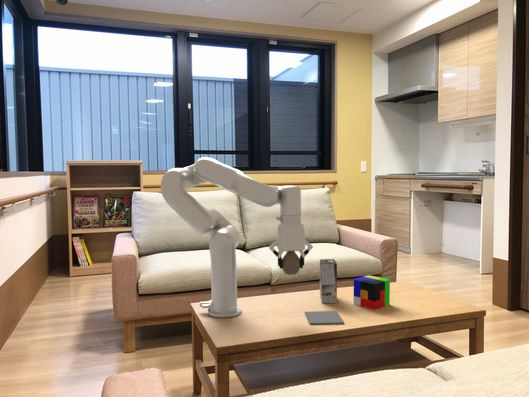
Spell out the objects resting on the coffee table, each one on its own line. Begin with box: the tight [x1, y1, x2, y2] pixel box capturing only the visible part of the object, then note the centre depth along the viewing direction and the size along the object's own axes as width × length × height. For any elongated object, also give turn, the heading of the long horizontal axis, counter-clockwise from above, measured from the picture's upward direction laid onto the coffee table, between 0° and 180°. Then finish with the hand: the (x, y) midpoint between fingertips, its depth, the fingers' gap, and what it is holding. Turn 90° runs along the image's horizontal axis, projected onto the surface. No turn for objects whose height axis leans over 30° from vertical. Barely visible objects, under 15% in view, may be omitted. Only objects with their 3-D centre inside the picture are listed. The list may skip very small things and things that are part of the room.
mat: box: [304, 310, 345, 326], centre depth 151 cm, size 12×12×1 cm
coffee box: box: [319, 258, 338, 304], centre depth 173 cm, size 9×6×16 cm
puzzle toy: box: [353, 275, 391, 311], centre depth 167 cm, size 10×10×10 cm
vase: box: [281, 251, 301, 276], centre depth 154 cm, size 7×7×9 cm
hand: (291, 267), depth 154 cm, fingers closed on vase, 6 cm apart
